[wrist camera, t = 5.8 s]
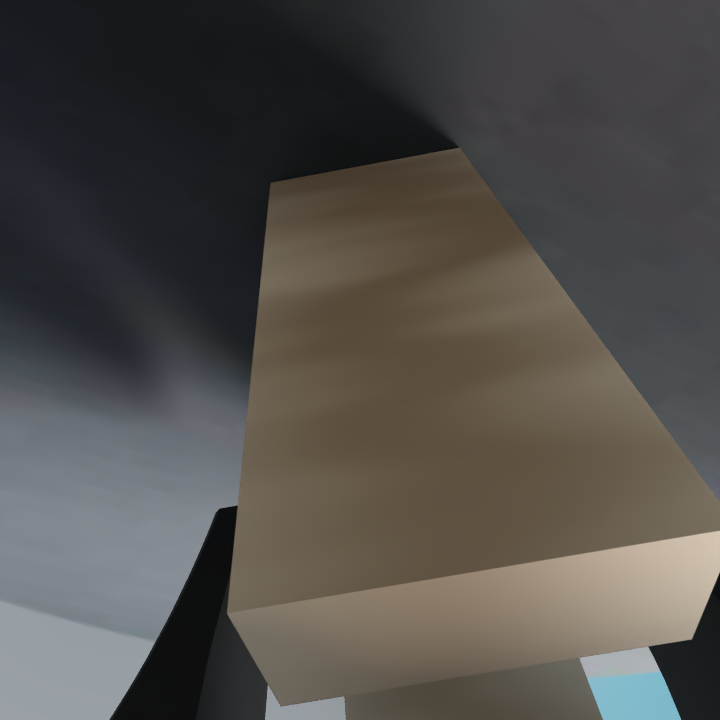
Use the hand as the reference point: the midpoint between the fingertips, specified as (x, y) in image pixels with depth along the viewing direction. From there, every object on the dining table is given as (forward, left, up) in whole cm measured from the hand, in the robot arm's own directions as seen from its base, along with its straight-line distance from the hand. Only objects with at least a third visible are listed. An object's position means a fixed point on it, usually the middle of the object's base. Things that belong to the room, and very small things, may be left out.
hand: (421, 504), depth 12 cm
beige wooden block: (0, -6, -3) cm, 6 cm away
